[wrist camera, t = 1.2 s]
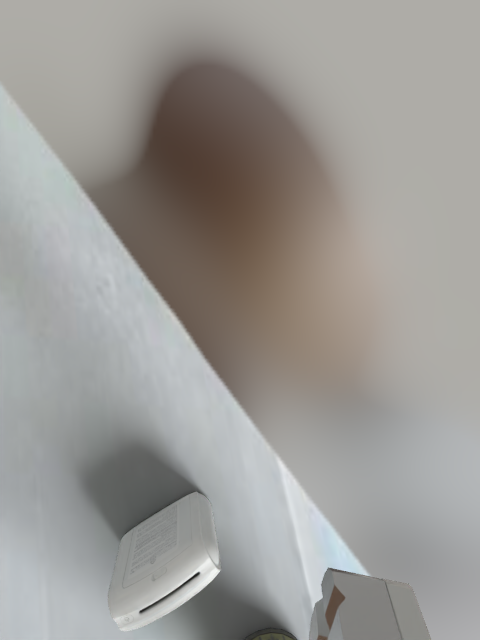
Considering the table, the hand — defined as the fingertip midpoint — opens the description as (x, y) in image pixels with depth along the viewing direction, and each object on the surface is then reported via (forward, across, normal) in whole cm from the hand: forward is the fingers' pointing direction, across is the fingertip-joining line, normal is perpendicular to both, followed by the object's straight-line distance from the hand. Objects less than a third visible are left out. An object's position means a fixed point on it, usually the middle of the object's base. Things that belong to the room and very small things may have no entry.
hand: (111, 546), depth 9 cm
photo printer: (+35, -2, -29) cm, 45 cm away
